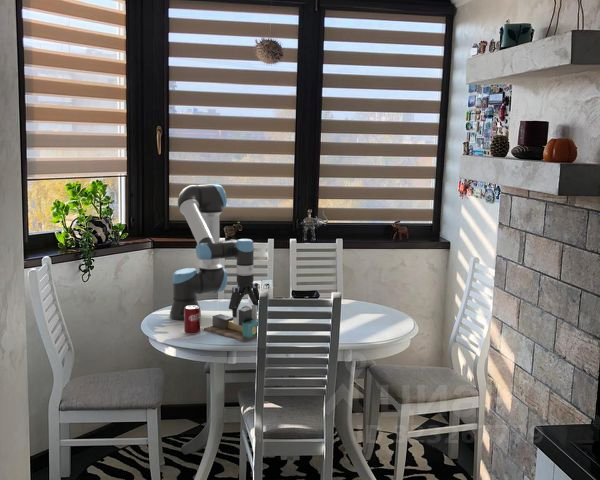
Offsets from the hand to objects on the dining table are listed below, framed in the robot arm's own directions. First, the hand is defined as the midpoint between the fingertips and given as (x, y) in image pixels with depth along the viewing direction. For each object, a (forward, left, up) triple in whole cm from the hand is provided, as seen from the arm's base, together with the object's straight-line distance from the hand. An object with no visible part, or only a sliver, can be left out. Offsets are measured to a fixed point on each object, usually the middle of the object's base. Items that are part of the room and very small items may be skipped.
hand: (245, 321), depth 337 cm
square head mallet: (-3, 0, -5) cm, 6 cm away
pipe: (-15, +21, -7) cm, 27 cm away
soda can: (-21, -13, -7) cm, 26 cm away
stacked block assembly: (-6, 0, -5) cm, 8 cm away
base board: (-7, 0, -6) cm, 9 cm away
